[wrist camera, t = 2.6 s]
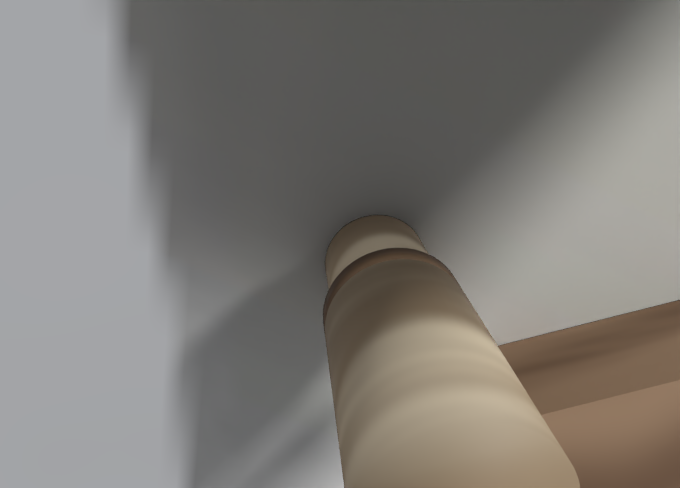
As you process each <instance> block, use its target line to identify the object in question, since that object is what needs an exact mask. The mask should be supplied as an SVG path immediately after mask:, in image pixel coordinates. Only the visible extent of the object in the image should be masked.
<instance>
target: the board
mask: <svg viewBox="0 0 680 488" xmlns="http://www.w3.org/2000/svg"><path fill="white" fill-rule="evenodd" d="M498 347H499V349H500V351H501V352H502V354H503V355H504V357H505V358H506V360H507V362H508V363H509V365H510V366H511V368H512V370H513V371H514V373H515V374H516V376H517V378H518V379H519V381H520V382H521V384H522V386H523V387H524V389H525V390H526V392H527V393H528V395H529V397H530V398H531V400H532V401H533V403H534V405H535V406H536V408H537V409H538V411H539V413H540V414H541V416H542V417H543V419H544V420H545V422H546V424H547V425H548V427H549V428H550V430H551V432H552V433H553V435H554V436H555V438H556V440H557V441H558V443H559V444H560V446H561V448H562V449H563V451H564V452H565V454H566V455H567V457H568V459H569V460H570V462H571V464H572V465H573V467H574V469H575V471H576V474H577V476H578V479H579V484H580V488H680V300H678V301H674V302H670V303H666V304H662V305H658V306H654V307H650V308H646V309H642V310H638V311H634V312H631V313H627V314H623V315H619V316H615V317H611V318H607V319H603V320H599V321H595V322H591V323H587V324H583V325H579V326H575V327H571V328H567V329H563V330H559V331H555V332H552V333H548V334H544V335H540V336H536V337H532V338H528V339H524V340H520V341H516V342H512V343H508V344H504V345H500V346H498Z"/></svg>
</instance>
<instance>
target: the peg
mask: <svg viewBox="0 0 680 488" xmlns="http://www.w3.org/2000/svg"><path fill="white" fill-rule="evenodd" d="M325 269H326V275H327V282H328V288H329V290H328V293H327V295H326V298H325V302H324V307H323V324H324V331H325V339H326V347H327V355H328V363H329V370H330V378H331V386H332V394H333V402H334V410H335V417H336V425H337V433H338V441H339V449H340V456H341V464H342V472H343V480H344V488H580V484H579V479H578V476H577V474H576V471H575V469H574V467H573V465H572V464H571V462H570V460H569V459H568V457H567V455H566V454H565V452H564V451H563V449H562V448H561V446H560V444H559V443H558V441H557V440H556V438H555V436H554V435H553V433H552V432H551V430H550V428H549V427H548V425H547V424H546V422H545V420H544V419H543V417H542V416H541V414H540V413H539V411H538V409H537V408H536V406H535V405H534V403H533V401H532V400H531V398H530V397H529V395H528V393H527V392H526V390H525V389H524V387H523V386H522V384H521V382H520V381H519V379H518V378H517V376H516V374H515V373H514V371H513V370H512V368H511V366H510V365H509V363H508V362H507V360H506V358H505V357H504V355H503V354H502V352H501V351H500V349H499V347H498V346H497V344H496V343H495V341H494V339H493V338H492V336H491V335H490V333H489V331H488V330H487V328H486V327H485V325H484V324H483V322H482V320H481V319H480V317H479V316H478V314H477V312H476V311H475V309H474V308H473V306H472V304H471V303H470V301H469V300H468V298H467V296H466V295H465V293H464V292H463V290H462V289H461V287H460V285H459V284H458V282H457V281H456V279H455V277H454V276H453V274H452V273H451V272H450V270H449V269H448V268H447V267H446V266H445V265H444V264H443V263H442V262H441V261H439V260H438V259H436V258H435V257H433V256H431V255H429V254H428V252H427V251H426V249H425V247H424V246H423V244H422V242H421V240H420V239H419V237H418V235H417V234H416V233H415V231H414V230H413V229H412V228H411V227H410V226H408V225H407V224H406V223H404V222H403V221H401V220H399V219H396V218H393V217H390V216H385V215H371V216H366V217H362V218H359V219H356V220H354V221H352V222H350V223H349V224H347V225H346V226H344V227H343V228H342V229H341V230H340V231H339V232H338V233H337V234H336V235H335V237H334V238H333V239H332V241H331V243H330V245H329V247H328V250H327V253H326V259H325Z"/></svg>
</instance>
